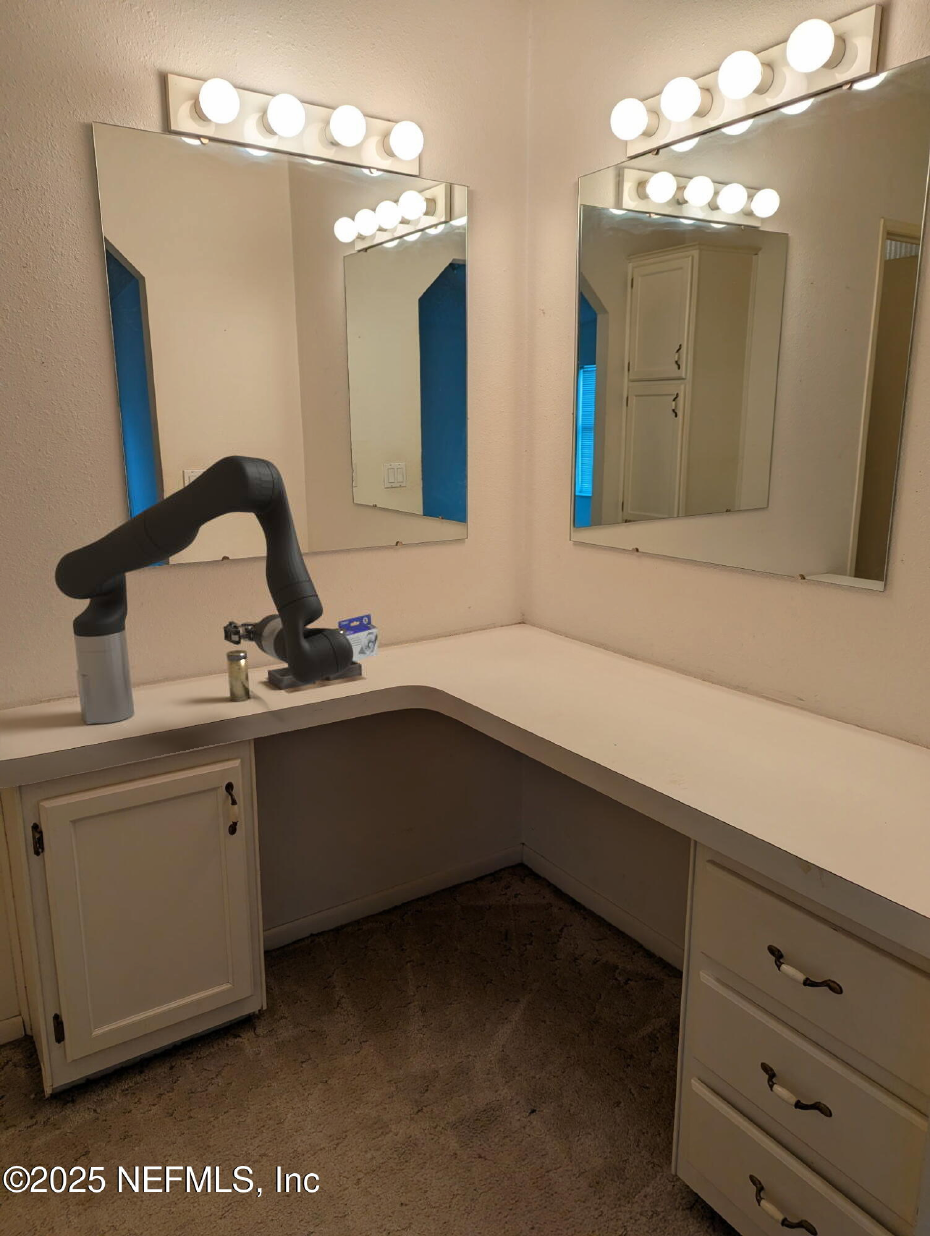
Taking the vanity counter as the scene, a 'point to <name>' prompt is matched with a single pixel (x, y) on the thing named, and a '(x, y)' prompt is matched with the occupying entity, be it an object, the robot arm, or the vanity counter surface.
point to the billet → (238, 675)
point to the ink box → (361, 636)
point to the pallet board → (291, 685)
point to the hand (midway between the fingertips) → (252, 623)
